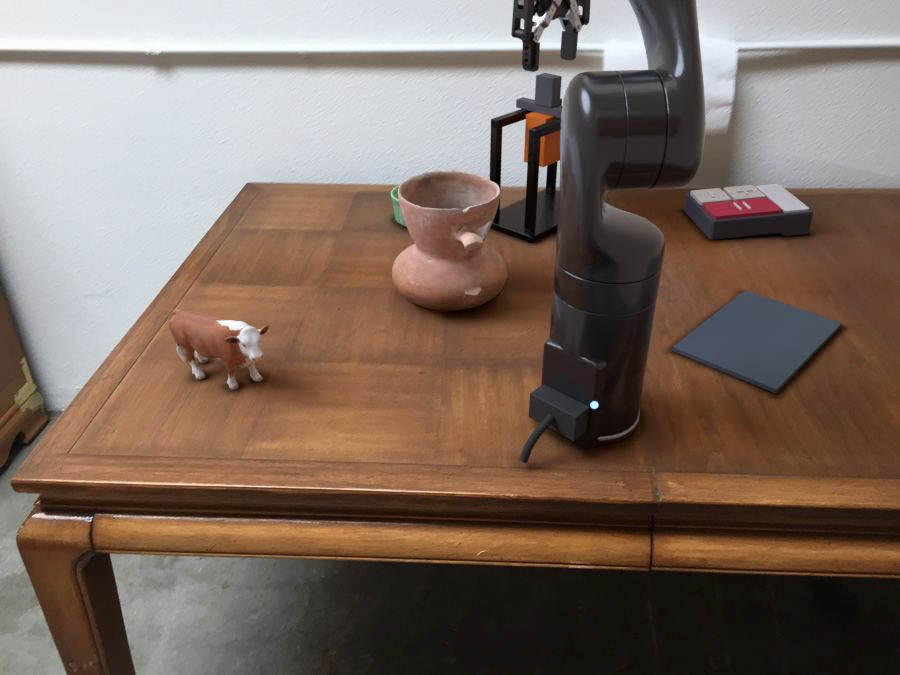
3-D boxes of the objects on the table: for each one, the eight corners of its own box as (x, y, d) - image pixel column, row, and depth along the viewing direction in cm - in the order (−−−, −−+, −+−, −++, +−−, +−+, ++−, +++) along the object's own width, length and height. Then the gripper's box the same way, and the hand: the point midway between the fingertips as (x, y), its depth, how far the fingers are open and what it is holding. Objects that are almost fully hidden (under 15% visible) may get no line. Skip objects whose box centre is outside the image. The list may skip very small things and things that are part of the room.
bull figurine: (260, 409, 78) (249, 341, 73) (170, 370, 84) (154, 305, 79) (290, 387, 81) (280, 321, 76) (200, 351, 87) (187, 288, 83)
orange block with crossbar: (561, 172, 109) (567, 85, 103) (506, 156, 115) (509, 73, 108) (581, 163, 112) (589, 78, 106) (527, 148, 118) (531, 66, 112)
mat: (775, 394, 79) (777, 389, 79) (671, 351, 86) (672, 346, 86) (840, 327, 90) (842, 323, 90) (744, 293, 97) (744, 289, 97)
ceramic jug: (529, 315, 93) (535, 205, 86) (415, 337, 89) (411, 224, 82) (475, 253, 108) (476, 155, 100) (375, 270, 103) (368, 169, 96)
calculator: (685, 188, 118) (780, 179, 119) (682, 214, 120) (775, 205, 121) (713, 216, 109) (815, 206, 110) (709, 244, 111) (809, 234, 112)
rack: (531, 243, 110) (537, 133, 102) (479, 224, 116) (481, 119, 108) (598, 209, 121) (609, 107, 112) (547, 193, 127) (554, 94, 118)
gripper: (566, -72, 104) (558, 52, 113) (498, -65, 95) (495, 70, 104) (613, -69, 100) (601, 60, 109) (547, -61, 91) (539, 79, 100)
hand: (549, 65), depth 106 cm, fingers open, 8 cm apart
